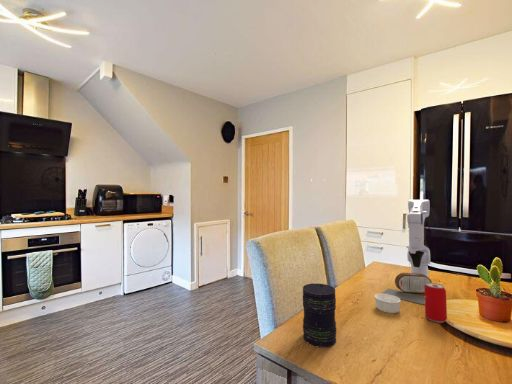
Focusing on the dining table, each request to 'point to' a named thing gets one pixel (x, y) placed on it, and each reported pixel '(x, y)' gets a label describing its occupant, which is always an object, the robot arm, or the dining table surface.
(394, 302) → the ramekin
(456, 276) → the dining table surface
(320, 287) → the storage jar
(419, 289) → the tin
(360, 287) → the dining table surface
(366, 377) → the dining table surface
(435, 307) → the beverage can
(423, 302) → the mat
